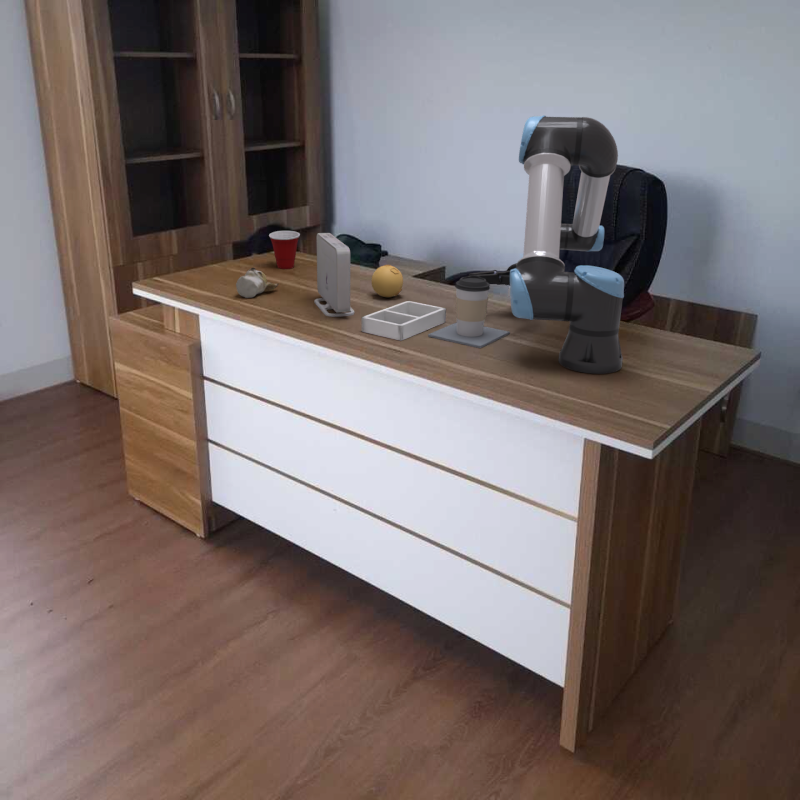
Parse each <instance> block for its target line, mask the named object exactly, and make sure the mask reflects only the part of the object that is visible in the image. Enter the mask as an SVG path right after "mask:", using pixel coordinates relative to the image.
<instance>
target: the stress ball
mask: <svg viewBox="0 0 800 800" xmlns="http://www.w3.org/2000/svg"><path fill="white" fill-rule="evenodd" d="M403 286H404V277H403V274H402V272H401V271H400V270H399V269H398V268H397V267H395V266H393V265H391V264H384V265H381V266H379V267H377V268H376V269H375V271H374V272H373V273H372V276H371V287H372V289H373V291H374V292H375V294H377V295H378V296H380V297H381V298H392V297H398V295H399V294H401V292H402V291H403Z"/></svg>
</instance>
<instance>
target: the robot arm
mask: <svg viewBox="0 0 800 800" xmlns="http://www.w3.org/2000/svg"><path fill="white" fill-rule="evenodd" d="M618 152H619V151H618V146H617V143H616V140H615V138H614V135H613V134H612V133H611V131H610V130H609V129H608V128H607V127H606V126H605V125H604V124H603V123H602V122H600V121H599V120H597V119H595V118H592V117H588V116H582V117H580V116H579V117H578V116H574V117H573V116H571V117H570V116H547V115H539V116H538V115H537V116H535V115H534V116H530V117H528V118H527V120H526V121H525V123H524V127H523V131H522V134H521V140H520V145H519V152H518V153H519V154H518V163H519V164H521V165H523V170H524V171H525V173H526V174H527V175H528V187H527V200H526V201H527V203H526V216H525V227H524V229H525V230H524V240H523V241H524V242H523V243H524V244H523V254H522V255H523V257H521V258H520V259H519V260H518V261H517V262H516V263H514V264H511V265H510V266H508V267H507V269H506V270H504V271H498V270H496V269H492V270H490V271H481V272H480V271H479V272H470V273H469V274H468V276H470V275H477V276H480V277H481V278H484V279H486V282H488V283H489V284H496V285H497V286H499V285H502V286H503V285H504V286H508V289H507V290H508V291H507V298H510V308H511V309H510V310H511V313H512V315H513V316H514V317H516V318H518V319H527V320H531V321H532V320H539V321H540V320H541V321H553V322H554V321H558V322H569V327H568V332H567V335H566V337H565V339H564V342H563V345H562V348H561V349H560V350H559V354H558V363H559V364H560V365H561V366H562V367H564V368H566V369H568V370H572V371H574V372H579V373H585V374H592V375H593V374H595V375H597V374H598V375H601V374H603V375H604V374H611V373H615V372H618V371H620V370H621V369H622V367H623V360H624V359H623V353H622V348H621V343H620V338H619V332H620V322H621V313H622V307H623V299H624V297H625V293H624V292H625V291H624V289H625V279H624V277H623V276H622V275H621V274H620V273H617V272H615V271H613V270H611V269H607V268H603V267H599V266H596V265H595V266H594V265H577V266H576V267H575V268H574V272H572V271H571V272H569V271H565V269H566V268H565V267H566V265H565V263H564V261H562V260H561V259H560V250H562V251H563V250H564V251H578V252H579V251H580V252H599V251H601V250H602V249H603V246H604V239H605V227H604V226H603V225H600V224H601V219H602V215H603V210H604V206H605V201H606V197H607V191H608V186H609V184H610V183H609V182H610V178H611V175H613V174H614V172H615V171H616V169H617V166H618V158H619V153H618ZM572 166H578V168H579V170H580V171H581V173H580V178H579V183H578V191H577V196H576V197H577V198H576V202H575V209H574V214H573V215H574V216H573V221H572V223H562V213H563V212H562V211H563V195H564V194H563V192H564V180H565V176H566V175H567V174H568V173H569V172H570V171H571V167H572Z"/></svg>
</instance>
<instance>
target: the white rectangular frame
mask: <svg viewBox="0 0 800 800" xmlns="http://www.w3.org/2000/svg"><path fill="white" fill-rule="evenodd" d="M446 320H447V308H446V307H441V306H437V305H431V304H425V303H421V302H416V301H411V300H407V301H403V302H400V303H397V304H395V305H391V306H390V307H387V308H384V309H381V310H378V311H375V312H372V313H370V314H367V315H364V316H361V332H362V333H365V334H366V333H367V334H369V335H370V334H371V335H375V336H379V337H384V338H388V339H392V340H397V341H404V340H406V339H408V338H411V337H413V336H416V335H418V334H421V333H422V332H426V331H427V330H430V329H433V328H435V327H438V326H440V325H442V324H444V323H445V324H446Z"/></svg>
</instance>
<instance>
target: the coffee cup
mask: <svg viewBox="0 0 800 800" xmlns="http://www.w3.org/2000/svg"><path fill="white" fill-rule="evenodd" d="M490 286H491V283H488V282H486V279H484V278H481V277H480V276H477V275H470V276H469V275H468V276H462V277H461V278H459V280H457V281H456V282H455V290H456V292H455V293H456V294H455V319H456V322H457V333H458V334H459V335H462V336H468V337H476V336H480V335H482V334H483V327H484V325H485V320H486V318H487V317H486V316H487V309H488V302H489V292H490V289H491V287H490Z"/></svg>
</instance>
